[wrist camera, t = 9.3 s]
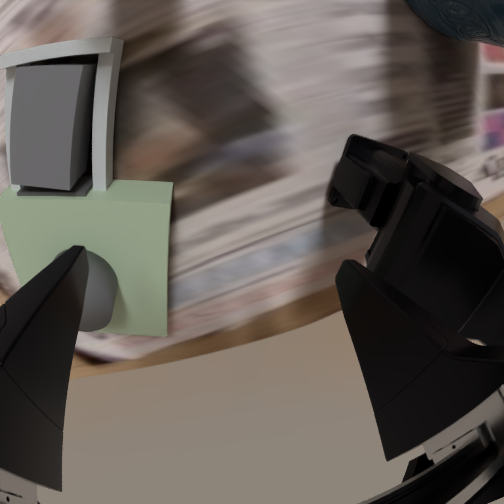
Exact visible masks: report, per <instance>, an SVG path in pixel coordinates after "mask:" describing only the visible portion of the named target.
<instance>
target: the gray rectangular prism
mask: <svg viewBox="0 0 504 504" xmlns="http://www.w3.org/2000/svg"><path fill="white" fill-rule="evenodd" d="M97 66H98V64H88V63H52V64H38V65H31V66H24V67H18V68H16V73H15V79H14V87H13V95H12V106H11V121H10V174H11V184H14V185H24V186H34V187H44V188H53V189H61V190H70V189H71V188H72V187H73V186H74V184H75V183H76V182H77V181H78V179H79V178H80V177H81V176H82V174H83V173H84V172H85V171H86V170H87V162H88V150H89V140H90V131H91V124H92V116H93V107H94V94H95V83H96V74H97Z"/></svg>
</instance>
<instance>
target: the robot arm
mask: <svg viewBox="0 0 504 504" xmlns="http://www.w3.org/2000/svg"><path fill="white" fill-rule="evenodd" d="M355 138H356V142H353V140H354V139H355ZM403 155H404V156H403ZM402 156H403V157H402ZM408 159H409V160H408ZM407 160H408V163H406V162H407ZM335 198H336V200H335V201H333V199H335ZM482 200H483V198H482V196H481V195H480V194H479V192H478V191H477V190H476V188H475V187H474V186H473V184H472V183H471V182H470V181H469V180H467V179H466V178H464V177H462V176H461V175H459V174H458V173H456V172H455V171H453V170H451V169H450V168H448V167H446V166H444V165H441V164H439V163H437V162H435V161H432V160H430V159H428V158H425V157H423V156H420V155H418V154H415V153H413V152H410V153H409V156H408V153H407V152H405V151H404V150H401V149H398V148H395V147H393V146H390V145H387V144H384V143H381V142H378V141H375V140H372V139H369V138H366V137H363V136H360V135H357V134H352V135H350V137H349V139H348V142H347V145H346V148H345V151H344V154H343V156H342V157H341V160H340V163H339V166H338V169H337V172H336V174H335V177H334V180H333V186H332V189H331V192H330V195H329V198H328V201H329V203H330V204H331V205H332V206H336V207H343V208H349V209H356V210H357V211H358V212H359V213H360V214H361V215H362V217H363V218H364V219H365V220H366V221H367V222H368V223H369V224H370V226H373V227H374V228H375V229H376V231H377V232H378V233H377V235H376V237H375V239H374V241H373V243H372V245H371V247H370V249H369V250H368V251H367V253H366V255H365V258H366V262H367V266H366V267H364V266H363V265H361V264H360V263H358V262H357V261H355V260H347V259H346V260H344V261H343V262H342V264H341V267H340V269H339V271H338V273H337V275H336V279H335V282H336V286H337V290H338V294H339V298H340V302H341V306H342V311H343V314H344V318H345V321H346V324H347V327H348V330H349V333H350V335H351V339H352V342H353V345H354V348H355V351H356V354H357V357H358V361H359V363H360V367H361V370H362V373H363V377H364V380H365V383H366V387H367V390H368V393H369V397H370V400H371V404H372V407H373V411H374V415H375V419H376V423H377V426H378V430H379V434H380V438H381V442H382V446H383V450H384V454H385V458H386V461H390V460H392V459H394V458H396V457H399V456H400V455H403V454H405V453H407V452H409V451H411V450H412V449H414V448H417V447H419V446H420V445H423V447H424V450H425V453H424V454H422V455H420V456H418V457H417V458H415V459H413V460H411V461H409V464H408V467H407V470H406V473H405V475H404V478H403V481H402V483H401V484H399V485H398V486H396V487H394V488H392V489H390V490H388V491H386V492H383V493H381V494H379V495H377V496H375V497H373V498H370V499H368V500H366V501H363V502H361V503H358V504H488V503H490V502H492V501H495V500H497V499H500V498H502V497H504V230H503V228H502V226H501V223H500V222H499V220H498V219H497V218H496V217H494V216H493V215H492V214H491V213H489V212H488V211H487V210H485V209H484V208H483V207H481V206H480V204H481V202H482ZM88 276H89V263H88V257H87V251H86V248H85V246H82V245H73V246H72V247H70V248H69V249H68V250H66V251H65V252H64V253H63V254H61V255H60V256H59V257H57V258H56V259H55V260H54V261H52V262H51V263H50V264H49V265H47V266H46V267H45V268H44V269H42V270H41V271H40V272H39V273H38V274H36V275H35V276H34V277H33V278H32V279H31V280H29V281H28V282H27V283H26V284H25V285H24V286H22V287H21V288H20V289H19V290H18V291H17V292H16V293H15V294H13V295H12V296H11V297H10V298H9V299H8V300H7V301H6V302H5V304H3V305H1V306H0V504H40V503H39V502H38V501H37V485H39V486H42V487H46V488H49V489H52V490H56V491H60V492H62V445H63V427H64V416H65V406H66V398H67V390H68V383H69V377H70V371H71V365H72V359H73V354H74V349H75V344H76V339H77V335H78V330H79V326H80V322H81V318H82V313H83V307H84V300H85V293H86V287H87V281H88ZM469 340H478V341H479V342H481V343H482V344H483V345H485V346H482V345H477V344H474V343H472V342H471V341H469Z"/></svg>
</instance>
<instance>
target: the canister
mask: <svg viewBox="0 0 504 504" xmlns="http://www.w3.org/2000/svg"><path fill="white" fill-rule="evenodd" d="M406 1H407V2H408V4H409V5H410V6H411V8H412V9H413V10H414V11H415V12H416V14H417V15H418V16H419V17H420V18H421V19H422V20H423V21H425V22H426V23H427V24H428V25H429V26H430V27H432V28H433V29H435V30H436V31H438V32H440V33H442V34H444V35H447V36H450V37H452V38H454V39H457V40H460V41H466V42H471V43H477V42H480V43H485V44H490V45H494V46H499V47H503V48H504V0H406Z"/></svg>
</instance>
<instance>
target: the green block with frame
mask: <svg viewBox="0 0 504 504" xmlns="http://www.w3.org/2000/svg"><path fill="white" fill-rule="evenodd" d="M123 44H124V40H122V39H119V38H115V37H99V38H88V39H79V40H71V41H64V42H57V43H51V44H46V45H41V46H36V47H31V48H27V49H23V50H19V51H15V52H11V53H7V54H4V55H0V69H4V68H6V80H5V137H6V151H7V161H8V170H9V177H10V184H11V174H10V121H11V106H12V95H13V87H14V79H15V73H16V68H18V67H24V66H30V63H35V62H40V61H46V60H52V59H59V58H67V57H75V56H85V55H98V54H99V58H98V66H97V74H96V83H95V94H94V107H93V128H92V174H93V175H82V176H81V177H80V178H79V179H78V181H77V182H76V183H75V184H74V186H73V187H72V188H71V189H70V190H61V189H53V188H44V187H34V186H24V185H14V184H11V185H10V186H9V187H8V188H7V189H6V190H5V191H4V192H3V193H2V194H1V195H0V221H1V225H2V229H3V233H4V236H5V240H6V243H7V247H8V250H9V253H10V256H11V259H12V262H13V265H14V268H15V271H16V274H17V276H18V279H19V282H20V284H21V287H22V286H24V285H25V284H26V283H27V282H28V281H29V280H31V279H32V278H33V277H34V276H35V275H36V274H38V273H39V272H40V271H41V270H42V269H44V268H45V267H46V266H47V265H49V264H50V263H51V262H52V261H54V260H55V259H56V258H57V257H59V256H60V255H61V254H63V253H64V252H65V251H66V250H68V249H69V248H70V247H72V246H73V245H82V246H85V248H86V251H87V257H88V263H89V276H88V281H87V287H86V293H85V300H84V307H83V313H82V318H81V322H80V326H79V330H78V331H84V332H102V333H113V334H126V335H142V336H162V337H167V316H168V258H169V235H170V218H171V204H172V191H173V182H158V181H139V180H114V179H113V136H114V119H115V106H116V95H117V86H118V77H119V70H120V63H121V56H122V50H123Z"/></svg>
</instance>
